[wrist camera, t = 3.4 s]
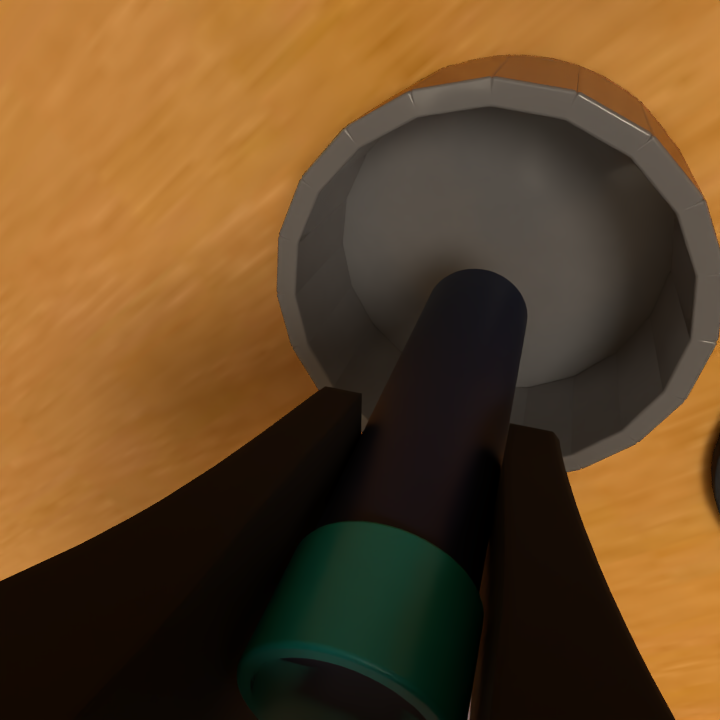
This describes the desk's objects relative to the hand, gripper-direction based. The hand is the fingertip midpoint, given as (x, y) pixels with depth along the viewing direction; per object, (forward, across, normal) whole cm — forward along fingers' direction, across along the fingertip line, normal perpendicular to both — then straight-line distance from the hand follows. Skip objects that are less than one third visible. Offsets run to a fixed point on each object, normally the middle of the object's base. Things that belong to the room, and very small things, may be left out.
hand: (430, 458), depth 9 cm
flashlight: (+5, 0, 0) cm, 5 cm away
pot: (+9, 0, 0) cm, 9 cm away
